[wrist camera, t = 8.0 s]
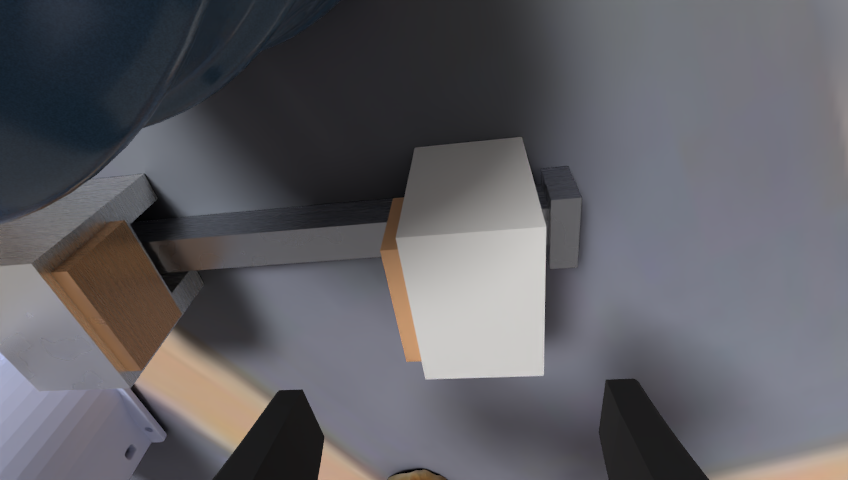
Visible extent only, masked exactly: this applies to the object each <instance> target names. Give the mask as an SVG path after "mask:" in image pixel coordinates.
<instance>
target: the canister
mask: <svg viewBox="0 0 848 480" xmlns="http://www.w3.org/2000/svg"><path fill="white" fill-rule="evenodd" d="M339 1H340V0H0V225H1V224H5V223H8V222H12V221H15V220H17V219H20V218H22V217H24V216H27V215H29V214H32V213H34V212H36V211H39V210H41V209H43V208H45V207H47V206H49V205H51V204H52V203H54V202H56V201H58V200H60V199H61V198H63V197H65V196H67V195H69V194H70V193H72V192H73V191H75V190H76V189H77V188H79V187H80V186H81V185H83V184H84V183H86V182H87V181H88V180H90V179H91V178H92V177H94V176H95V175H97V174H98V173H99V172H100V171H101V170H102V169H103V168H104V167H105V166H106V165H107V164H109V163H110V162H111V161H112V160H113V159H114V158H115V157H116V156H117V155H118V154H119V153H120V152H121V151H122V150H123V149H125V148H126V147H127V146H128V144H129V143H130V142H131V141H132V140H133V139H134V137H135V136H136V135H137V134H138V133H139V131H140V130H141V129H142V128H145V127H148V126H151V125H154V124H157V123H160V122H162V121H165V120H167V119H169V118H171V117H174V116H176V115H178V114H180V113H183V112H185V111H187V110H188V109H190V108H192V107H194V106H196V105H197V104H199V103H201V102H203V101H204V100H206V99H207V98H209V97H210V96H212V95H213V94H214V93H216V92H217V91H219V90H220V89H221V88H223V87H224V86H226V85H227V84H228V83H229V82H230V81H231V80H232V79H234V78H235V77H236V76H237V75H238V74H239V73H240V72H241V71H243V70H244V69H245V68H246V67H247V66H248V65H249V64H250V62H251V61H252V60H253V59H254V58H255V57H256V56H257V55H258V54H259V53H260V52H261V51H262V50H265V49H268V48H271V47H274V46H276V45H278V44H280V43H282V42H285V41H287V40H289V39H290V38H292V37H294V36H296V35H297V34H299V33H301V32H302V31H304V30H305V29H307V28H308V27H309V26H311V25H312V24H313V23H315V22H316V21H317V20H319V19H320V18H321V17H323V16H324V15H325V14H326V13H327V12H329V11H330V10H331V9H332V8H333V7H334V6H335V5H337V3H338V2H339Z"/></svg>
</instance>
